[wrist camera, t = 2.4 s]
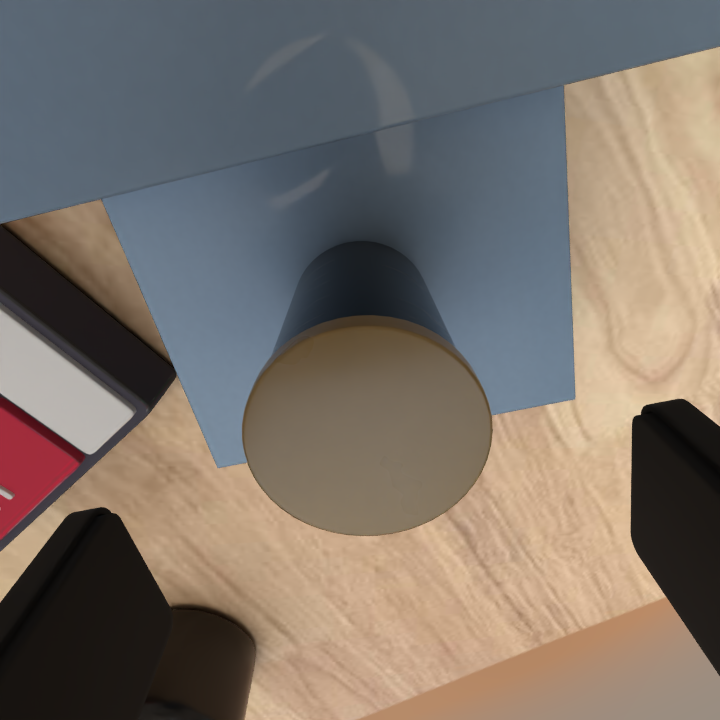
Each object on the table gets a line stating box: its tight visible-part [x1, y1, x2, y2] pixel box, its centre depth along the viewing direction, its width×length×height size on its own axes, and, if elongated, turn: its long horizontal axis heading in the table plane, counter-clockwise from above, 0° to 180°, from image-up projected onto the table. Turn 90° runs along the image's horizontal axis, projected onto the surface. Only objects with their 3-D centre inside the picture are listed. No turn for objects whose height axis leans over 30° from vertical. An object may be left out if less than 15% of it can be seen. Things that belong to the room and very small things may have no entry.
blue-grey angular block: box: [0, 0, 720, 468], centre depth 15 cm, size 22×16×13 cm
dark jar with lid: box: [242, 241, 493, 536], centre depth 15 cm, size 6×6×9 cm
